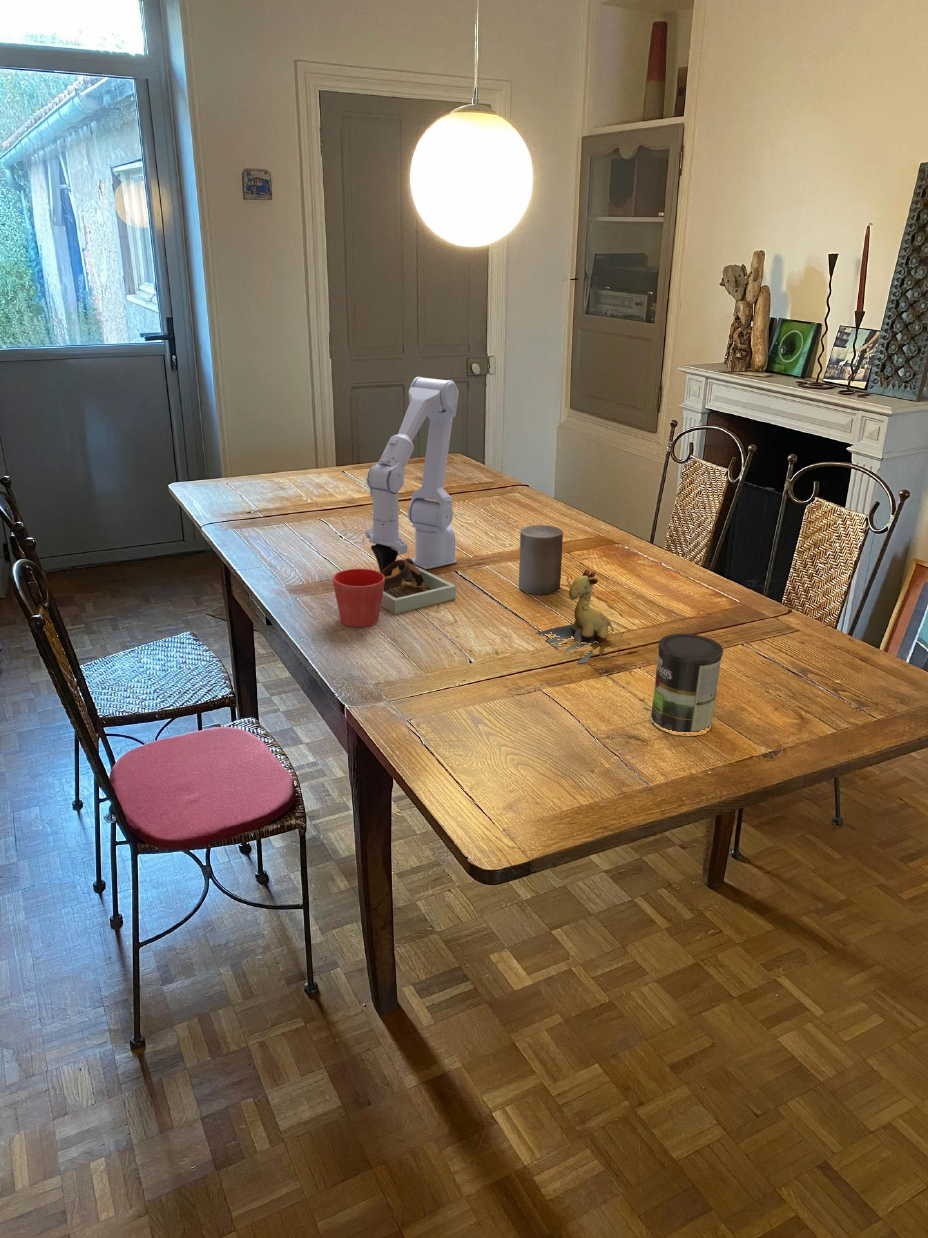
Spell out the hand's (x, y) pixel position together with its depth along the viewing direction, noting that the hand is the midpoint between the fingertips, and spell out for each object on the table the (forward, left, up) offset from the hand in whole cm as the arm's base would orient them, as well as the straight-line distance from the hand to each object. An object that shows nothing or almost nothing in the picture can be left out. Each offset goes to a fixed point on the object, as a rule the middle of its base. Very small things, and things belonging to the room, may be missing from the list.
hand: (386, 575), depth 215 cm
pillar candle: (-28, +21, -2) cm, 35 cm away
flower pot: (+16, +15, -2) cm, 22 cm away
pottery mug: (-1, +5, -2) cm, 6 cm away
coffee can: (-6, +83, -2) cm, 83 cm away
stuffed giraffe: (-17, +50, -3) cm, 53 cm away
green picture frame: (0, +8, -2) cm, 8 cm away
